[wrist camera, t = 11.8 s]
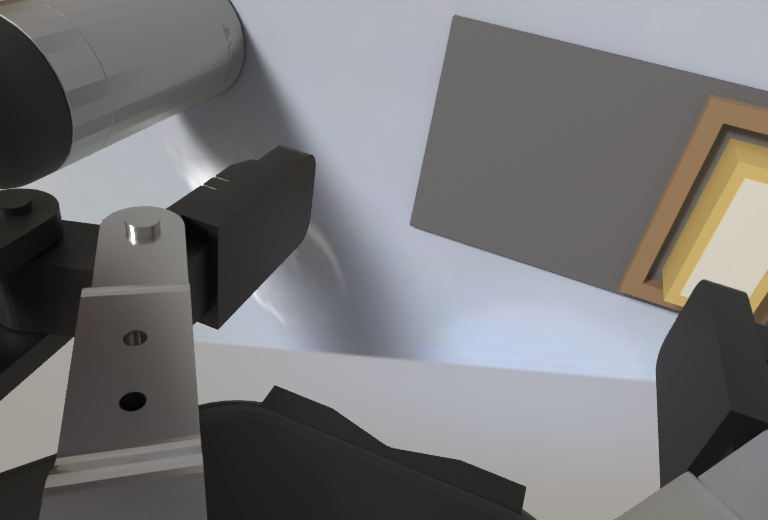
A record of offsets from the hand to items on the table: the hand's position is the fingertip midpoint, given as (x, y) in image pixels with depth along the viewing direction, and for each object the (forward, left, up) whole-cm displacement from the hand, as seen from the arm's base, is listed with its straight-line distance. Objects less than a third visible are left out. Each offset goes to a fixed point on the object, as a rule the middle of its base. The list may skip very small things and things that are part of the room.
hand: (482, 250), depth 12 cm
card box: (+13, -10, -29) cm, 33 cm away
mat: (+6, -10, -30) cm, 32 cm away
